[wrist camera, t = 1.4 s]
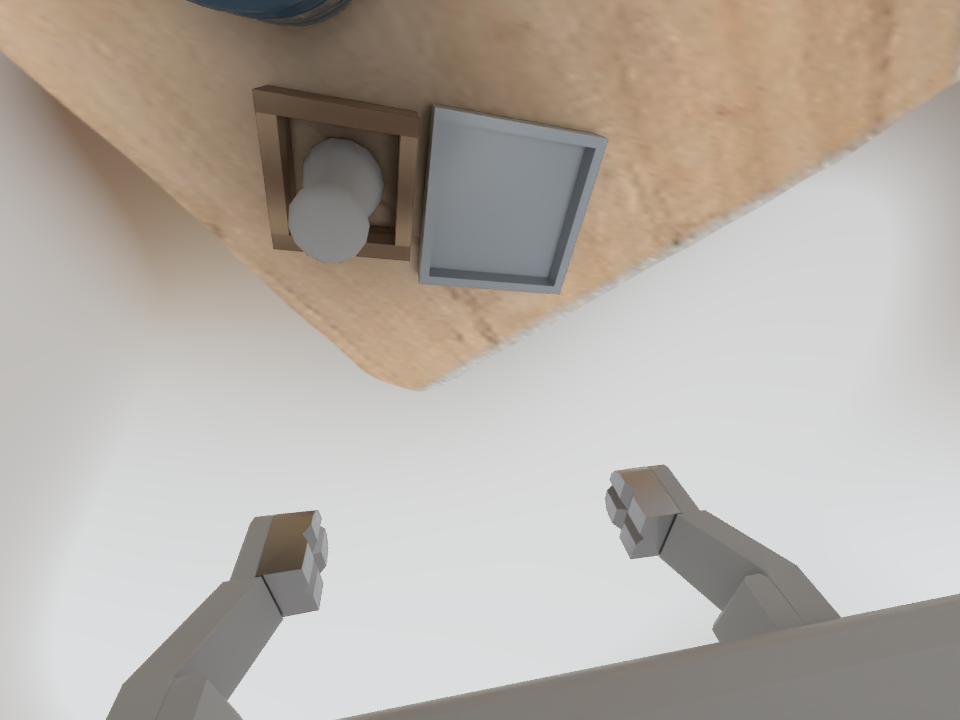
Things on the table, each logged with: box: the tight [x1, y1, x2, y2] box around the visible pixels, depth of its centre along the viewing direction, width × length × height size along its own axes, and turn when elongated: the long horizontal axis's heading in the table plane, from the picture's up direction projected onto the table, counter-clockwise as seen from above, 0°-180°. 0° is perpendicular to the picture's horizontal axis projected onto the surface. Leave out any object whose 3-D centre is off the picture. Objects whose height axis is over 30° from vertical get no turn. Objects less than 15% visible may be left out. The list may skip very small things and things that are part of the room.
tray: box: [418, 104, 608, 294], centre depth 35 cm, size 14×14×2 cm
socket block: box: [252, 85, 420, 261], centre depth 30 cm, size 10×10×4 cm
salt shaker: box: [288, 138, 385, 263], centre depth 27 cm, size 6×6×13 cm
